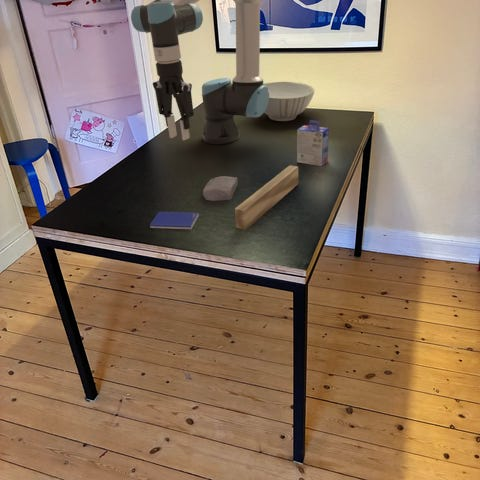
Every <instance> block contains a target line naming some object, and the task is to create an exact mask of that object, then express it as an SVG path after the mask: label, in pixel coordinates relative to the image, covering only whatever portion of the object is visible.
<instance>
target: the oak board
mask: <svg viewBox="0 0 480 480" xmlns="http://www.w3.org/2000/svg"><path fill="white" fill-rule="evenodd" d="M298 185H299V166H296V165H291V164H290V165H288V166H287V167H286V168H284V169H283V170H281V172H279V173H278V174H277V175H275V176H274V177H273V178H272V179H271V180H270V181H268V182H267V183H265V184H264V185H262V187H260V188H259V189H257V191H255V192H254V193H253V194H251V195H250V196H249V197H248V198H246V199H244V201H243V202H241V203H240V204H239V205H238V206H236V207H235V208H234V215H235V223H236V224H235V225H236V226H235V227H236V228H237V229H240V230H243V231H246V230H247V229H248V228H251V226H252V225H253V224H254V223H256V221H258V220H259V219H260V218H261V217H262V216H264V214H266V213H267V212H268V211H269V210H271V209H272V208H273V207H274V206H275V205H276V204H277V203H278V202H279V201H280V200H283V198H284V197H285V196H286V195H288V193H290V192H291V191H292V190H293V189H295V187H296V186H298Z"/></svg>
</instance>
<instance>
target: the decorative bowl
mask: <svg viewBox="0 0 480 480" xmlns="http://www.w3.org/2000/svg"><path fill="white" fill-rule="evenodd" d="M263 85H264V86H266V87H267V88H268V91H269V102H268V106H267V108H266V110H265V112H264V113H263V114H265V115H267V116H268V118H269V119H270V120H272V121H276V122H288V121H293V120H295V119H296V118H297V116H298V115H300V114H301V113H303V112H304V111H305V110H306V109H307V108H308V106H309V105H310V104H311V101H312V99H313V96H314V94H315V88H314V87H313V86H312V85H310V84H307V83H303V82H299V81H289V80H287V81H286V80H285V81H283V80H280V81H278V80H277V81H269V82H263Z"/></svg>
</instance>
